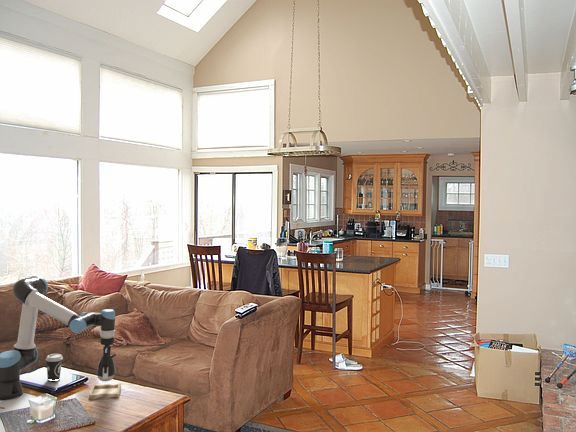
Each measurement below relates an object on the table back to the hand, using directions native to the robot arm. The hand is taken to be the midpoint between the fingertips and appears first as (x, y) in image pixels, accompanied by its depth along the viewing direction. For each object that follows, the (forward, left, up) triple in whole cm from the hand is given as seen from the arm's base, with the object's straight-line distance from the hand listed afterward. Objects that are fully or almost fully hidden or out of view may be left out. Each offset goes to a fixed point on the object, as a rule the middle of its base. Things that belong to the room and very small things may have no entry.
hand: (106, 375), depth 296 cm
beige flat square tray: (0, 0, -11) cm, 11 cm away
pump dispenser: (0, 0, -3) cm, 3 cm away
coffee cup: (-32, +25, -11) cm, 42 cm away
